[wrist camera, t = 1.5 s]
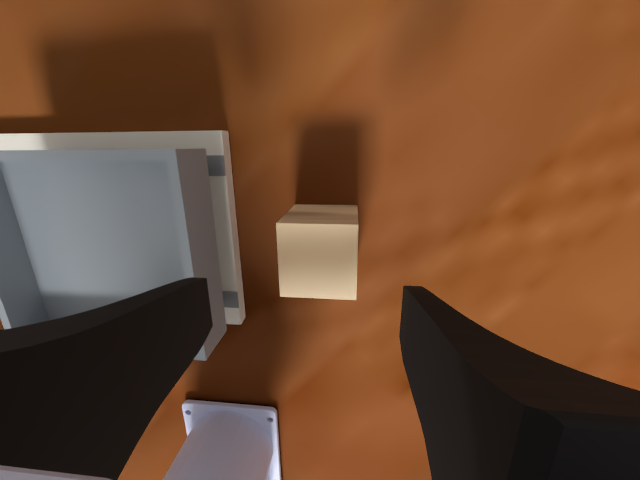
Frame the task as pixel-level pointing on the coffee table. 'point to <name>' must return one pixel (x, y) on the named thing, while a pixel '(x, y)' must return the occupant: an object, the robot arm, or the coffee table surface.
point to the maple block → (318, 251)
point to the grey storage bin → (103, 231)
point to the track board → (208, 140)
